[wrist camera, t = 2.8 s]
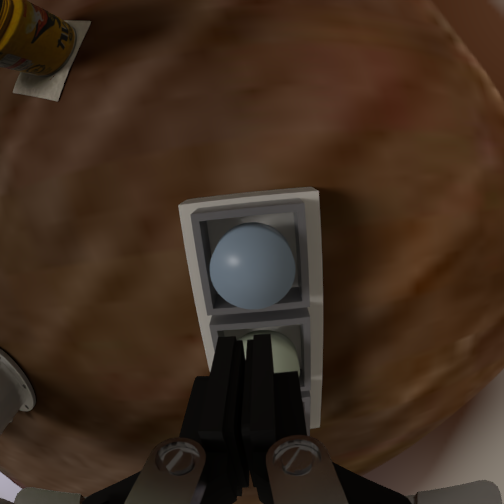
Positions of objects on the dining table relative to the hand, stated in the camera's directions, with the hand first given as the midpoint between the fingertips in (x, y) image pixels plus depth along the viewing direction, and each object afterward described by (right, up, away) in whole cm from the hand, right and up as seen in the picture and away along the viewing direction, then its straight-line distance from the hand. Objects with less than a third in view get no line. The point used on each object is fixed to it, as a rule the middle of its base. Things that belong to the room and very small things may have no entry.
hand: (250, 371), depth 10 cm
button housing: (+1, -3, +18) cm, 18 cm away
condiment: (-20, +23, +11) cm, 32 cm away
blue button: (0, +3, +11) cm, 11 cm away
